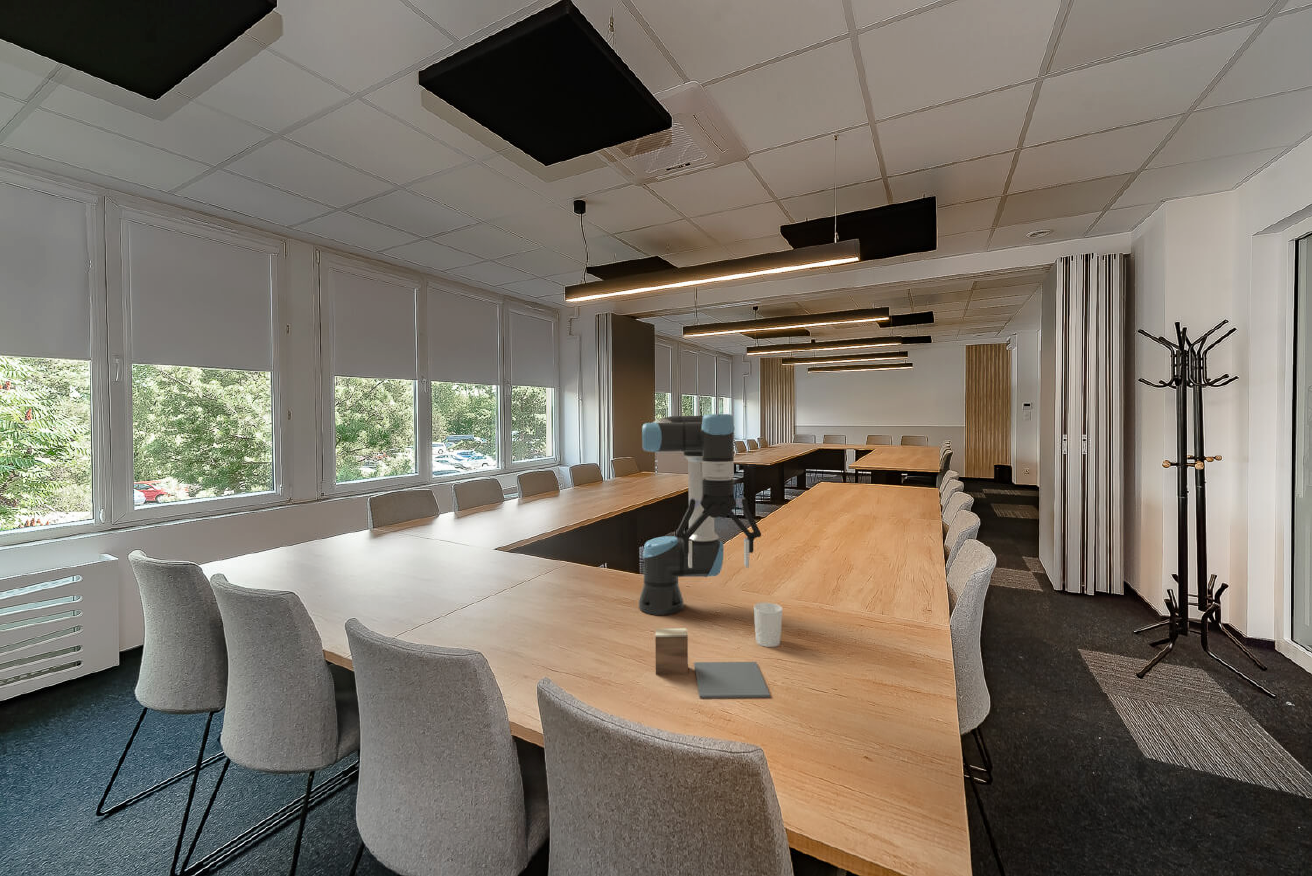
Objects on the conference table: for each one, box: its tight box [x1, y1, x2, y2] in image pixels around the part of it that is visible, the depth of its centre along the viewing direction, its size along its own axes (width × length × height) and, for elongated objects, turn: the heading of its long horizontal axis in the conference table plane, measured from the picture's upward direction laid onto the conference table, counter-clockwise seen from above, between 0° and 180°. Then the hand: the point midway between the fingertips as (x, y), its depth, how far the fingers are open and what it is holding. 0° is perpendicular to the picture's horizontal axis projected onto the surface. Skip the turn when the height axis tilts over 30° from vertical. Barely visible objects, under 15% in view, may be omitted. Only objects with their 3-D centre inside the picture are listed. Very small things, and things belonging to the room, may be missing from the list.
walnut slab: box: [654, 627, 689, 676], centre depth 129 cm, size 4×8×10 cm, turn 90°
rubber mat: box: [693, 661, 771, 699], centre depth 124 cm, size 16×16×1 cm
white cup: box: [753, 602, 783, 648], centre depth 145 cm, size 8×8×10 cm
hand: (718, 566), depth 123 cm, fingers open, 13 cm apart
